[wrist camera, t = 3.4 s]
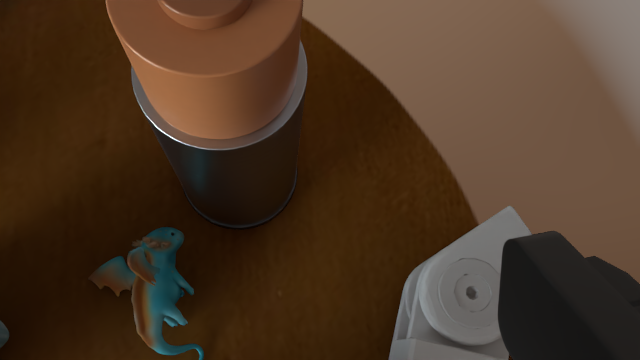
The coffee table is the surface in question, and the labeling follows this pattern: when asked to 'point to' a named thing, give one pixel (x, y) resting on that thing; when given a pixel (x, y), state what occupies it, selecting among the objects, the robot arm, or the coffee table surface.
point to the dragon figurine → (151, 286)
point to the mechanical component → (457, 297)
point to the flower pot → (3, 334)
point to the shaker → (236, 162)
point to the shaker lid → (212, 60)
